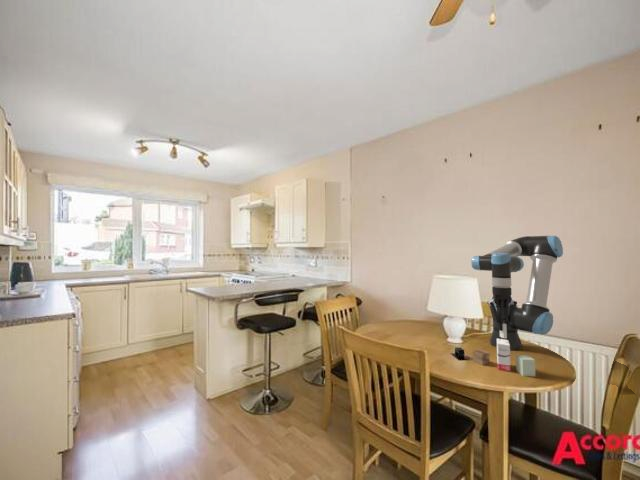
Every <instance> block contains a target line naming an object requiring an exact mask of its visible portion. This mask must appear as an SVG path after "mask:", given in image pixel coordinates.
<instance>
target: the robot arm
mask: <svg viewBox="0 0 640 480" xmlns="http://www.w3.org/2000/svg"><path fill="white" fill-rule="evenodd" d="M563 255H564V247H563V244H562V241H561V239H560V237H558V236H557V235H533V236H532V235H531V236H528V235H527V236H525V235H524V236H521V237H518V238H514V239H512V240H509V241H507V242H505V244H503V246H501V247H498V248H497V249H494V250H493V251H492V250H491V252H489V253H486V254H483V255H475V256H473V257H472V258H471V262H470V263H471V268H472V269H474V270H476V271H480V272H481V271H484V272H486V271H487V272H491V283H492V285H491V286H492V287H491V288H492V289H491V291H492V299H491V300H490V301H487V305H488V306H489V310H490V312H491V316H492V331H491V335H490V338H489V345H491V346H493V347H495V348H497V339H504V340H508V341H509V344H510V351H517V350H522V348H523V343H522V340H521V338H520V336H519V332H518V331H523V332H528V333H533V334H535V335H538V334H539V335H547V334H548V333H549V332H550V331H552V328H553V326H554V315H553V314H552V312H551V311H550V309H549V307H548V306H547V303H548V297H549V290H550V283H551V278H552V277H551V275H552V270H553V269H552V268H553V264H555V263H556V262H557V260H558V258H561V257H562V256H563ZM521 257H530V259H531V261H532V264H531V269H530V277H529V282H528V289H527V295H526V301H525V302H523V303H522V305H521V307H519V306H518V302H517V301H515V300H513V298H512V277H511V276H512V273H517V272H520V271H521V270H523V268H524V267H525V266H524V265H525V262H524V260H523V259H522V258H521Z"/></svg>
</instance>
